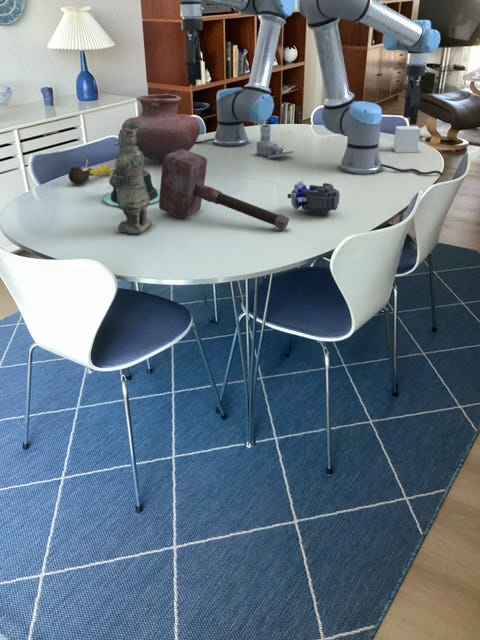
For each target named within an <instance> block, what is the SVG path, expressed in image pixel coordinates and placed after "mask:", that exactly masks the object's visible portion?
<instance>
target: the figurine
mask: <svg viewBox="0 0 480 640" xmlns="http://www.w3.org/2000/svg"><path fill="white" fill-rule="evenodd" d="M88 163H89V158H86V160H85V166H82V167H81V166H79V165H76V166H72V167H71V168H70V169H69V171H68V175H67V177H68V178H69V181H70V182H71V183H72V184H73V185H76V186H77V185H78V186H79V185H83V184H85V183H87V182H88V181H89V179H90V177H94V176H96V177H97V176H98V177H99V176H104V175H112V172H114V170H115V165H113V163H111V162H109V163H108V164H103V165H100V166H98V167H95V168H88Z"/></svg>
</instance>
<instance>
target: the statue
mask: <svg viewBox="0 0 480 640" xmlns="http://www.w3.org/2000/svg"><path fill="white" fill-rule="evenodd" d="M138 127H139V123H138V122H137V121H133V122H131V123H128V124H127V125H126V126H125V127H124V128H123V129H122V128H121V129H119V133H118V139H117V141H119V143H118V146H119V152H118V154H117V156H116V160H115V164H114V166H115V170H113V172H114V175H113V176H112V175H111V176H110V177H109V180H108V183H109V184H110V186H111V187H112V188H113V187H114V188H115V189H116V192H117V202H118V206H117V209H119V210H122V213H123V214H124V215H125V218H126V219H125V220H122V221H120V222H119V224H118V225H117V231H118V232H121V233H126V234H134V235H136V234H142V233H143V232H145V231H146V230H147V229H148V228H150V227H151V226H152V225H153V223H152V220H150V219H148V216H147V214H148V213H147V212H148V211H147V209H148V206H149V205H150V197H149V195H148V192H147V188H146V184H145V182H144V178H143V169H144V165H145V157H144V156H143V153H142V151H141V150H139V149H138V147H137V146H136V143H137V138H136V131H137V130H138Z"/></svg>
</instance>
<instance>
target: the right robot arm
mask: <svg viewBox="0 0 480 640" xmlns="http://www.w3.org/2000/svg"><path fill="white" fill-rule="evenodd" d="M296 5H297V9H298V11H299V13H300V14H301V15H302V16H303V17H305V20H306V24H307V28H308V29H310V30H311V31H312V32H313V37H314V41H315V46H316V47H315V48H316V52H317V56H318V62H319V66H320V72H321V76H322V77H321V78H322V81H323V87H324V92H325V96H326V97H325V99H324V100H323V107H322V111H321V113H320V119H321V120H320V121H321V123H322V126H323V127H324V128H325V129H326V130H327V131H329V132H331V133H333V134H336V135H340V136H343V137H347V138H346V139H347V140H346V149H345V151H344V154H343V156H342V158H341V162H340V170H341V171H343V172H345V173H349V174H355V175H356V174H357V175H369V174H370V175H371V174H376V173H378V172H380V171H382V167H383V168H387V169H391V170H394V171H397V172H401V173H402V172H403V173H404V172H405V173H406V172H415V173H417V174H419V175H424V176H426V175H431V174H438V175H440V176H442V177H443V176H444V174H443V172H441V171H439V170H430V171H424V172H423V171H421V170H419V169H417V168H398V167H395V166H392V165H388V164H383V163H382V161H381V155H380V150H379V147H380V145H379V144H380V138H381V137H380V136H381V129H382V128H381V127H382V120H383V110H382V108H381V106H380V105H379V104H376V103H374V102H370V101H361V100H359V101H356V99H355V93H353V92H352V91H350V87H349V83H348V82H349V81H348V76H347V72H346V71H347V70H346V65H345V60H344V59H345V58H344V53H343V48H342V42H341V36H340V31H339V30H340V29H339V25H338V23H339V22H340V20H342V19H343V20H348V21H350V22H352V23H355V24H357V23H359V22H360V23H361V24H364V25H366V26H368V27H369V28H371V29H373V30H375V31H377V32H379V33H381V34H383V36H382V46H383V48H384V49H385V50H386V51H391V52H392V51H393V52H395V51H404V52H407V53H406V54H407V55H406V64H407V65H406V66H405V73H404V74H405V75H406V76H407V82H406V88H405V92H404V96H403V97H404V106H403V119H405V118H406V119H407V118H408V119H409V125H417V123H418V116H419V107H420V106H421V92H422V89H421V88H422V79H420V77H424V76H425V75H426V69H427V66H426V64H427V60H428V59H427V58H429V57H430V56H429V54H430V53H434V52H436V51H437V49H438V48H439V45H440V43H441V33H440V31H438V30H437V29H433V28H432V22H431V20H429V19H416V20H415V19H413V20H412V19H409V18H408V17H406V16H404V15H403V14H401V13H399V12H397V11H395V10H394V9H393V8H390V7H389V6H387V5H385V4H383V3H381V2H379V1H378V0H296Z"/></svg>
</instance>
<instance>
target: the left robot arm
mask: <svg viewBox="0 0 480 640" xmlns="http://www.w3.org/2000/svg"><path fill="white" fill-rule="evenodd" d="M179 3H180V4H179V5H180V6H179V7H180V17H181V18H182V19H181V21H180V22H181V31H183V32H187V34H185V35H186V36H185V38H186V62H185V66H187V76H188V85H189V86H197V81H201V80H202V64H201V63H202V61H203V57H202V53H201V44H200V34H199V32H198V31H203V29H204V27H203V26H204V25H203V19H202V18H201V17H203V11H204V7H203V6H202V3H208V4H212V5H218V6H225V7H229V8H233V10H235V11H237V12H241V13H245V14H249V15H252V16H257V18H258V20H259V22H260V24H259V30H258V34H257V39H256V45H255V49H254V55H253V59H252V65H251V69H250V75H249V79H248V83H247V84H245V85H244V87H231V88H225V89H220V90H218V91H217V93H216V102H215V103H216V119H217V120H216V121H217V127H216V131H215V134H214V138H209V139H206V140H201V141H196V142H195V144H203V143H208V142H211V141H213V142H214V144H215V145H217V146H220V147H238V146H244V145H246V144H247V143H248V138H249V137H248V134H247V131H246V129H245V125H244V122H248V123H254V124H257V123H258V124H263V123H265V122H267V121H269V119H270V118H271V116H272V115H273V112H274V108H275V102H274V98H273V96H272V91H271V90H270V88H269V87H270V83H271V77H272V72H273V67H274V62H275V58H276V51H277V49H278V43H279V39H280V38H279V37H280V33H281V28H282V27H283V26H284V25H286V23H287V18H288V17H291V16H292V15H293V13H294V12H295V9H296V0H179Z"/></svg>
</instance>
